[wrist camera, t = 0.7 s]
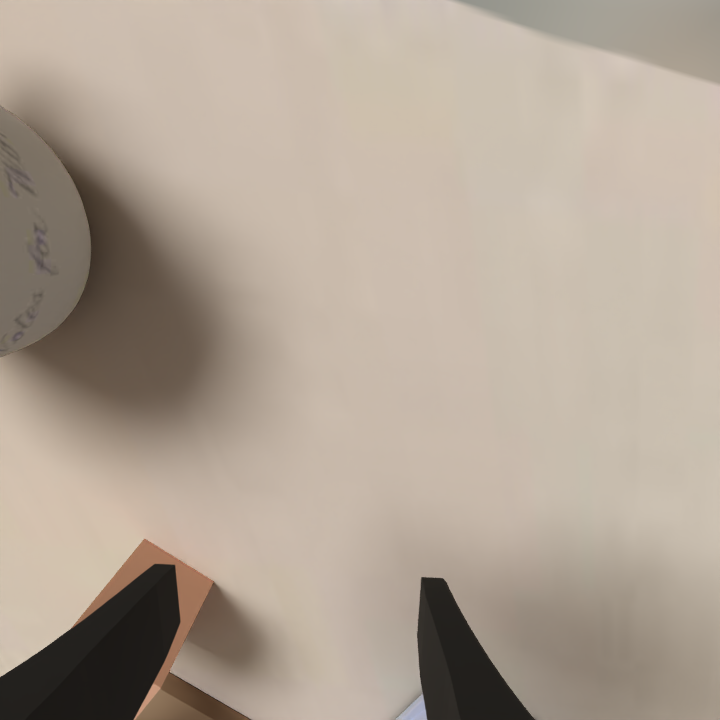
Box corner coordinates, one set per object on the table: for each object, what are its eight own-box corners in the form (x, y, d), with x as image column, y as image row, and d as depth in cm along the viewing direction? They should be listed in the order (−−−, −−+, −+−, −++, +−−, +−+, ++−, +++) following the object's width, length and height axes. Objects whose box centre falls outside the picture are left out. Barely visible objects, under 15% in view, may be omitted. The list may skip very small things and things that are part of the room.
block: (214, 581, 24) (160, 687, 18) (174, 631, 25) (111, 748, 19) (144, 538, 23) (66, 633, 17) (107, 591, 24) (21, 699, 18)
